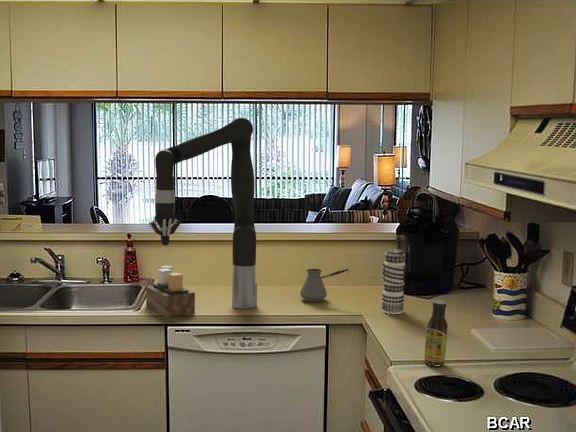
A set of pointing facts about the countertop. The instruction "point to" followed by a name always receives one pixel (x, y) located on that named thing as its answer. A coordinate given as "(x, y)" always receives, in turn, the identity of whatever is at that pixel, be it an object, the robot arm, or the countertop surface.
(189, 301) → the walnut block
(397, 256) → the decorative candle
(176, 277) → the ochre peg
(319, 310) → the countertop surface
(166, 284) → the grey metal peg
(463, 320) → the countertop surface
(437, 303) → the sauce bottle
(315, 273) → the coffee pot
